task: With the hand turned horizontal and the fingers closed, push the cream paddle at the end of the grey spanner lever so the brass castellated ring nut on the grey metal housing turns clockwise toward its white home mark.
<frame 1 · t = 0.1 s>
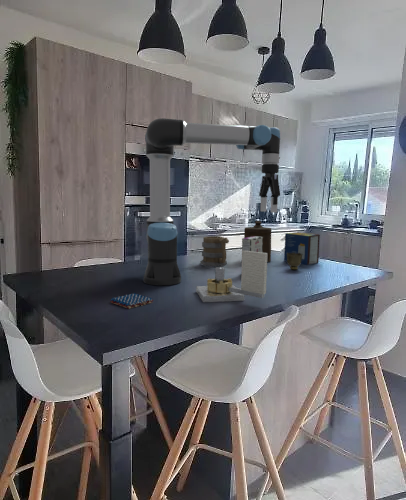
hand: (268, 212, 169), 28 cm above the table, tool pointing down, fingers open, 13 cm apart
tankard: (216, 265, 189), on the table
ring nut: (236, 271, 124), point 10 cm above the table, hinge at 0.0°
cup: (293, 269, 180), on the table
woven mat: (132, 304, 121), on the table
candy bar box: (251, 273, 171), on the table
housing: (219, 295, 130), on the table
wooden container: (256, 261, 204), on the table
protein box: (300, 262, 202), on the table
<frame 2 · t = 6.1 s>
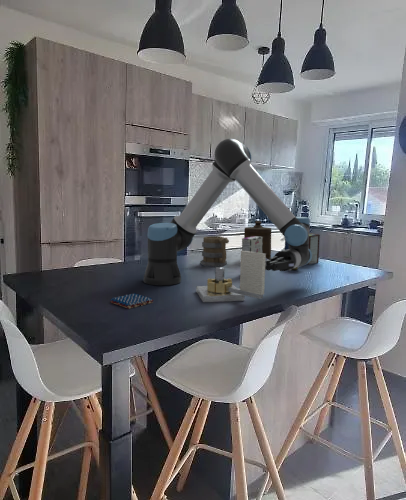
hand: (253, 268, 120), 11 cm above the table, tool horizontal, fingers closed
ring nut: (235, 271, 124), point 10 cm above the table, hinge at 3.7°, touching gripper
everything else where it was.
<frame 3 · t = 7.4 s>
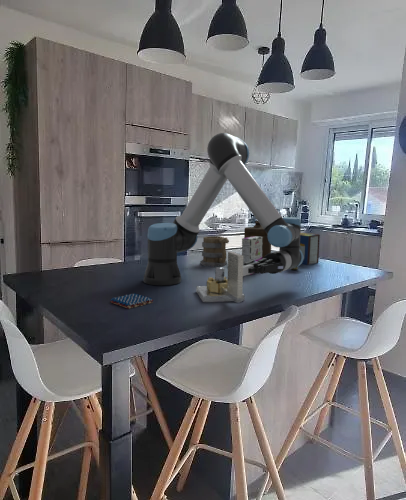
hand: (240, 271, 115), 11 cm above the table, tool horizontal, fingers closed
ring nut: (227, 272, 122), point 10 cm above the table, hinge at 33.2°
everything else where it was.
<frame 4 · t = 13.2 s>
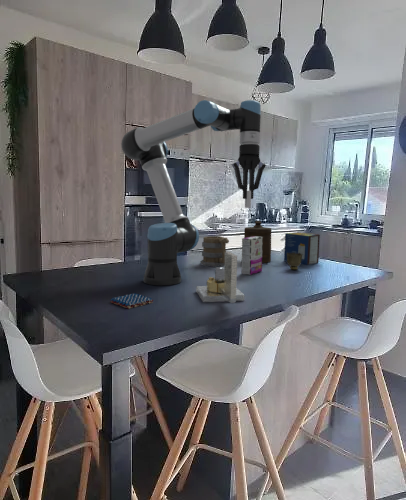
hand: (247, 207, 143), 30 cm above the table, tool pointing down, fingers closed
ring nut: (224, 272, 122), point 10 cm above the table, hinge at 39.5°
everything else where it was.
at the end: ring nut at +40° (first picture: +0°) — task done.
